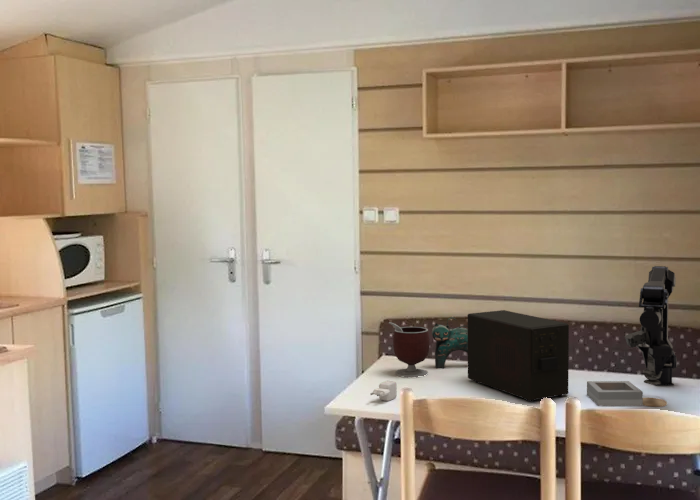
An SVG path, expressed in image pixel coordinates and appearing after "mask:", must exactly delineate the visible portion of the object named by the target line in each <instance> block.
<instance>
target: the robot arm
mask: <svg viewBox="0 0 700 500" xmlns="http://www.w3.org/2000/svg"><path fill="white" fill-rule="evenodd" d="M676 282H677V281H676V273H675V272H674V271H672V270H670V269H669V267H668V266H666V265H665V266H663V265H654V266H651V270H650V271H648V281H647V282H645V283H643V285H642V287H641V288H640V293H639V303H638V308H643V312H642V313H641V314H640V316H639V323H640V325H641V326H640V330H638V331H634V332H632V333H629V334H626V335H624V338H625V341H626V345H627V346H629V347H630V348H635V347H636V348H637V349H639V350H640V351H641V355H642V357H643V362H644V365H645V368H646V369H647V366H648V361H647V359H648V350H649V352H650V354H649V355H650V356H651V357H652V358H653V362H654V370H655V374H656V375H659V374H660V372H661V371H662V373H661V377H660V378H659V379H657V380H659V381H660V382H661V384H653V386H674V385H675V384H674V383H673V370H674V369H675V368H676V369H677V367H678V366H677V365H678V363H677V361H678V360H677V354H675V351H674V349H673V347H674V346H673V344H672V343H671V341H670V339H669V297H670V296H671V294H672V293H673V291H674V287H676Z"/></svg>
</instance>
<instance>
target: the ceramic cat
mask: <svg viewBox="0 0 700 500" xmlns="http://www.w3.org/2000/svg"><path fill="white" fill-rule="evenodd" d="M450 319H453V320H454V321H457V318H455V317H449V318H448V319H447V321H446V325H443V324H438V323H437V322H436V323H435V324H434V327H433V328H432V330H431V336H432V339H433V340H435V341H436V343H435V351H434V352H435V353H434V357H435V358H434V363H435V368H436V367H437V368H443V369H444V368H446V367H445V366H446V365H445V364H446V360H447V358H448V356H449V355H450V354H451V353H453V352H455V351H462V352H466V353H467V354H468V325H461V326H458V327H456V328H452V327H450V325H449V324H448V323H449V320H450ZM465 327H466V328H465ZM437 368H436V369H437Z"/></svg>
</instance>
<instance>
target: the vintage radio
mask: <svg viewBox="0 0 700 500" xmlns="http://www.w3.org/2000/svg"><path fill="white" fill-rule="evenodd" d="M466 320H467V326H468V327H467V329H468V353H467V378H468V379H469V380H471V381H474V382H475V383H477V382H479V383H480V384H483V385H485V386H488V387H491V388H494V389H496V390H498V391H499V390H500V391H503V392H505V393H508V394H511V395H514V396H515V397H519V398H522V399H525V400H526V401H527V402H535V400H539V399H540V400H541V399H545V398H544V397H547V398H552V397H563V395H568V394H569V358H570V357H569V354H570V353H569V349H570V348H569V346H570V345H569V343H570V342H569V338H570V336H569V335H570V333H569V332H570V325H569V324H568V323H567V322H563V321H557V320H554V319H548V318H543V317H538V316H534V315H529V314H524V313H520V312H519V313H518V312H514V311H509V310H505V309H503V310H502V309H501V310H494V311H493V310H492V311H484V312H472V313H468V314H467V319H466Z"/></svg>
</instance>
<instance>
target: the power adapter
mask: <svg viewBox="0 0 700 500" xmlns="http://www.w3.org/2000/svg"><path fill="white" fill-rule="evenodd" d="M397 387H398V386H397V382H396V381H394V380H385V381H383V382H380V383H379V384H378V388H375V389H374V390H373V391H372V392H370V396H373V395H374V396H377V397H378V398H379V400H381V401H384V402H389V401H392V400H394V399H396V398H397V397H398V396H397V395H398V394H397V392H398V391H397Z"/></svg>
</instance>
